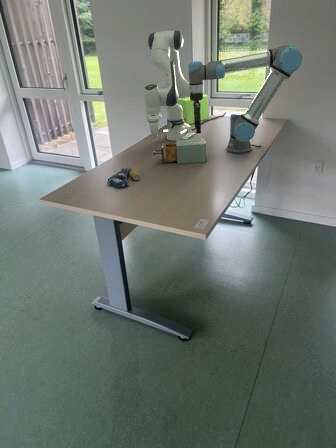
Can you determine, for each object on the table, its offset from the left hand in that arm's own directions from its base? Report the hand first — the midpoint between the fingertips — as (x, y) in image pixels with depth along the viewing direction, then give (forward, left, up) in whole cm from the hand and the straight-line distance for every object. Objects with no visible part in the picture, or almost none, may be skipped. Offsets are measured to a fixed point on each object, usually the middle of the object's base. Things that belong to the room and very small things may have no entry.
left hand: (156, 138), depth 201 cm
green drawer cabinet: (-14, +15, -15) cm, 25 cm away
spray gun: (+31, +4, -15) cm, 35 cm away
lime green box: (-87, -46, -15) cm, 100 cm away
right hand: (-17, +19, +3) cm, 25 cm away
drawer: (-6, +6, -14) cm, 16 cm away
